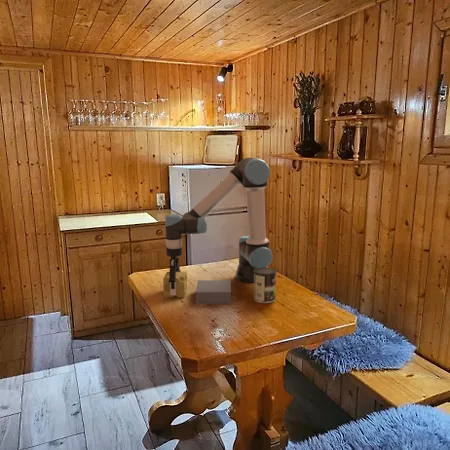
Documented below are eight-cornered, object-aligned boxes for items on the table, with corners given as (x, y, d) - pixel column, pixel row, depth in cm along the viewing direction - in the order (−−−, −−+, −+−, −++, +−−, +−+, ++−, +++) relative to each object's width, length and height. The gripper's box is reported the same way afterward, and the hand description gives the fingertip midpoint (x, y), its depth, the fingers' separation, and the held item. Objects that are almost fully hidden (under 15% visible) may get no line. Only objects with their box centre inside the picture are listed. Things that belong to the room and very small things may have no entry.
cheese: (185, 298, 193) (184, 278, 191) (162, 297, 193) (161, 277, 191) (187, 290, 203) (187, 271, 201) (166, 290, 203) (165, 270, 201)
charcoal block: (230, 291, 202) (230, 280, 200) (230, 304, 186) (230, 292, 185) (198, 291, 202) (197, 280, 200) (195, 304, 186) (195, 292, 185)
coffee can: (276, 295, 195) (277, 267, 192) (274, 304, 185) (275, 274, 182) (255, 294, 197) (255, 266, 194) (252, 302, 187) (252, 273, 184)
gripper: (170, 240, 205) (171, 281, 209) (161, 253, 182) (163, 299, 186) (184, 240, 205) (185, 281, 209) (178, 254, 181) (179, 299, 186)
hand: (175, 290), depth 198 cm, fingers open, 12 cm apart
